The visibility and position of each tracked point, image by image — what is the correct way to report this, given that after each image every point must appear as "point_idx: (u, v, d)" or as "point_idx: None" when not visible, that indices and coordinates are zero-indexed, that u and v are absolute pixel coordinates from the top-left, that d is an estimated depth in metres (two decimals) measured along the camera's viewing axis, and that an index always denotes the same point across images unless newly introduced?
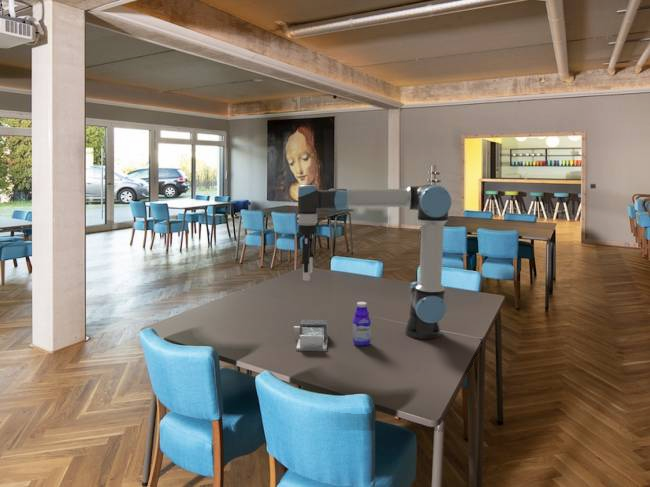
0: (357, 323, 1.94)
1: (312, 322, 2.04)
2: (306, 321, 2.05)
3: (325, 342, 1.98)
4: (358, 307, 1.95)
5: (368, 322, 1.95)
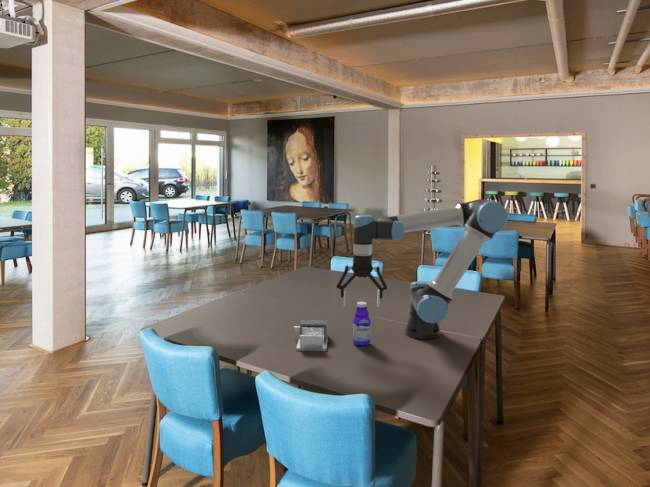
0: (357, 323, 1.94)
1: (312, 322, 2.04)
2: (306, 321, 2.05)
3: (325, 342, 1.98)
4: (358, 307, 1.95)
5: (368, 322, 1.95)
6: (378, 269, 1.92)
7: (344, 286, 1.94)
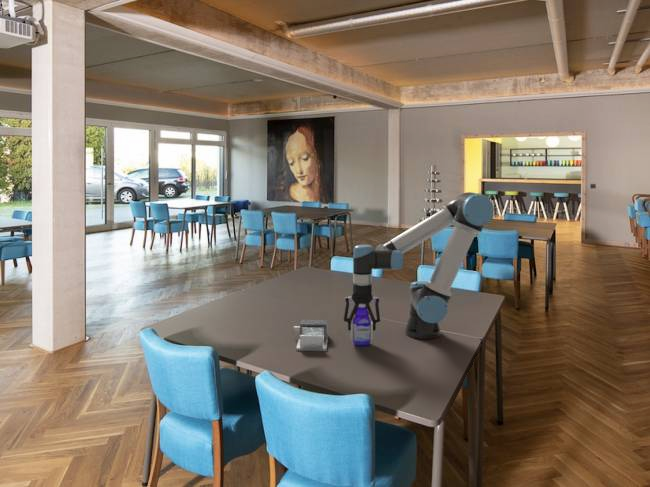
0: (357, 323, 1.94)
1: (312, 322, 2.04)
2: (306, 321, 2.05)
3: (325, 342, 1.98)
4: (358, 307, 1.95)
5: (368, 322, 1.95)
6: (377, 301, 1.94)
7: (350, 319, 1.96)
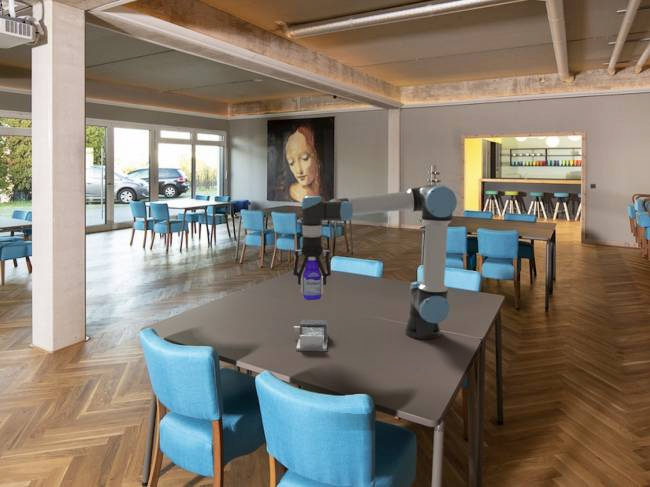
0: (307, 276, 1.89)
1: (312, 322, 2.04)
2: (306, 321, 2.05)
3: (325, 342, 1.98)
4: (308, 260, 1.90)
5: (318, 276, 1.90)
6: (327, 253, 1.89)
7: (300, 272, 1.91)
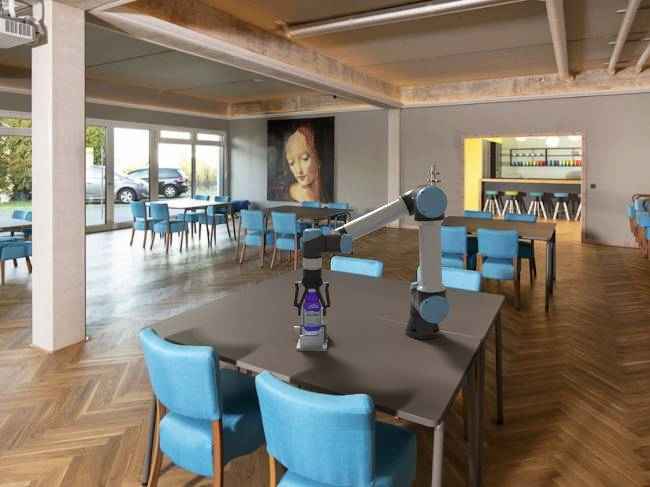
0: (307, 308, 1.91)
1: None
2: None
3: (325, 342, 1.98)
4: (308, 292, 1.92)
5: (318, 307, 1.92)
6: (327, 285, 1.91)
7: (300, 304, 1.93)
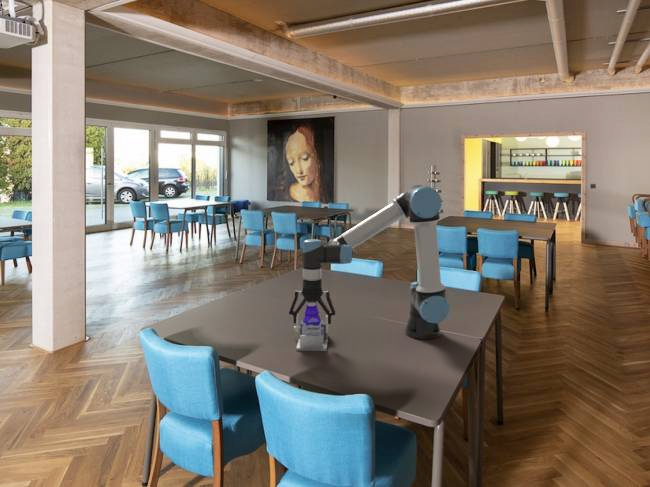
0: (307, 322, 1.92)
1: None
2: None
3: (325, 342, 1.98)
4: (308, 306, 1.93)
5: (318, 321, 1.93)
6: (328, 294, 1.92)
7: (296, 312, 1.94)
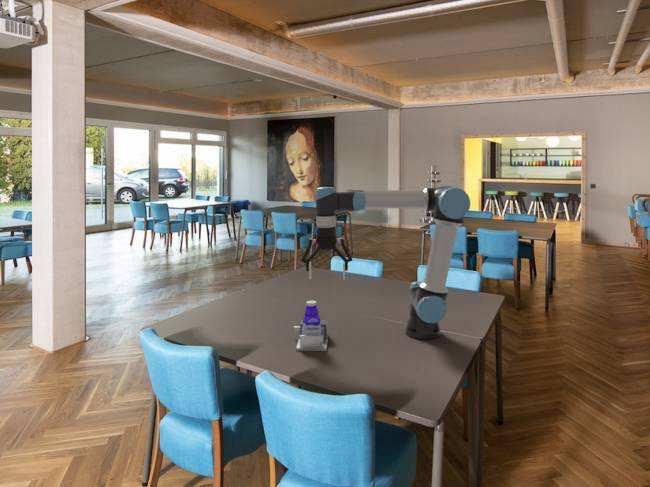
0: (307, 322, 1.92)
1: None
2: None
3: (325, 342, 1.98)
4: (307, 306, 1.93)
5: (318, 321, 1.93)
6: (342, 241, 1.91)
7: (309, 259, 1.93)
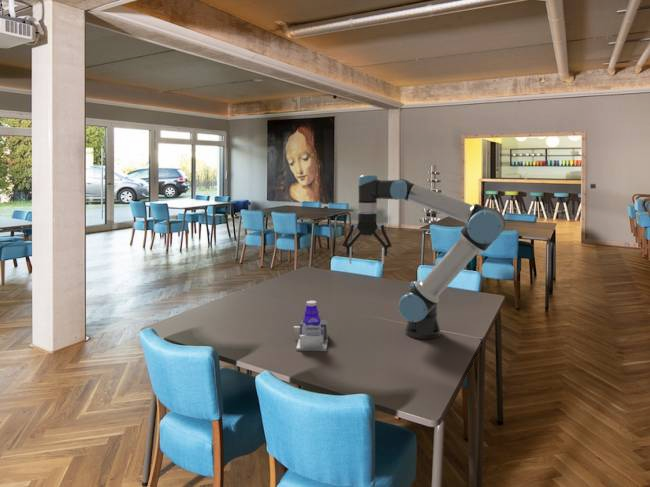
0: (307, 322, 1.92)
1: None
2: None
3: (325, 342, 1.98)
4: (307, 306, 1.93)
5: (318, 321, 1.93)
6: (382, 227, 2.00)
7: (350, 244, 2.01)
